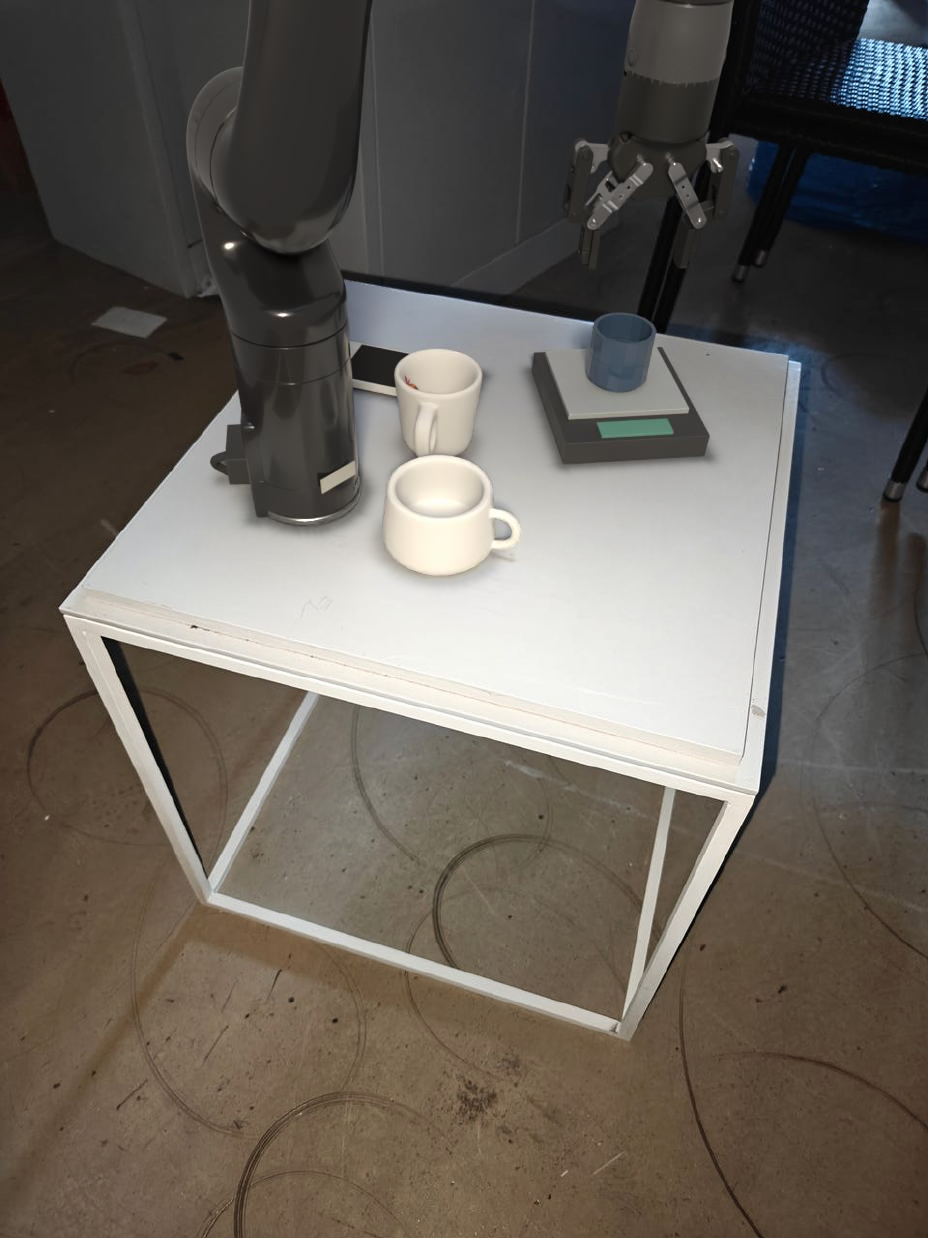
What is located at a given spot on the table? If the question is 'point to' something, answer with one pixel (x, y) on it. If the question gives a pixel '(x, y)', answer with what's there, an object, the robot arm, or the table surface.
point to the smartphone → (374, 367)
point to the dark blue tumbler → (620, 351)
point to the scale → (617, 412)
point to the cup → (438, 400)
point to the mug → (442, 516)
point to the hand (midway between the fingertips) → (634, 265)
